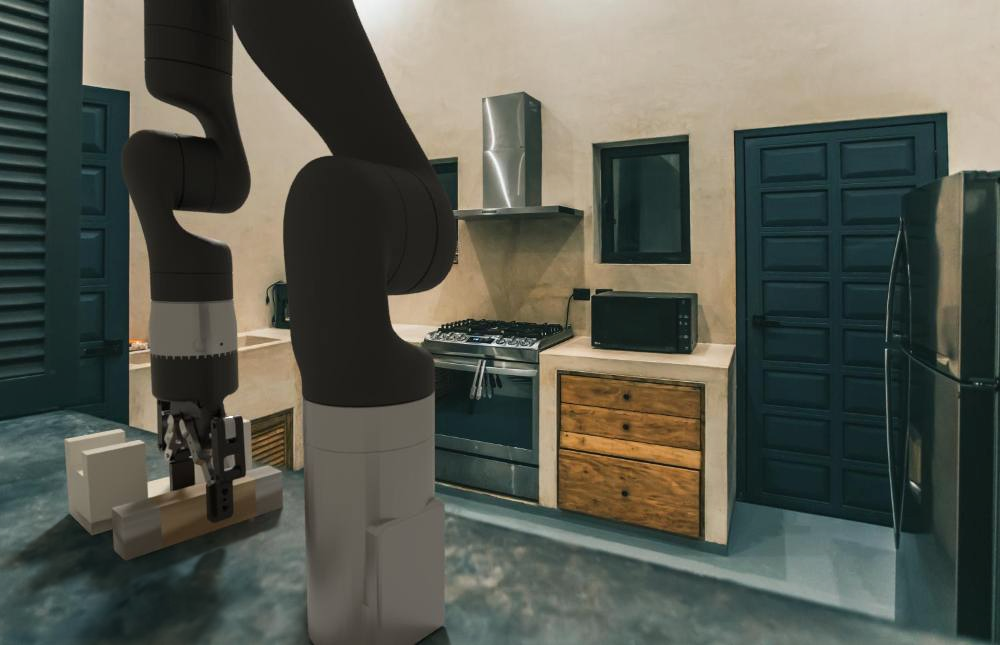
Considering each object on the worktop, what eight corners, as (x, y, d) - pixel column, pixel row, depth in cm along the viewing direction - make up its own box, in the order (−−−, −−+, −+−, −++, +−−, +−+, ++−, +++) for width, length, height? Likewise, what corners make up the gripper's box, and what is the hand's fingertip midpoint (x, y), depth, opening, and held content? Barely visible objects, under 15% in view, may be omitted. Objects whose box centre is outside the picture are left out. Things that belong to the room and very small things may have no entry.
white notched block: (252, 487, 67) (250, 421, 66) (91, 535, 55) (86, 455, 54) (223, 472, 72) (221, 410, 71) (69, 513, 60) (64, 439, 59)
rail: (283, 507, 62) (282, 471, 62) (125, 560, 50) (122, 517, 50) (269, 499, 64) (268, 465, 63) (114, 549, 52) (111, 508, 52)
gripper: (269, 351, 54) (273, 515, 55) (202, 335, 63) (207, 477, 64) (185, 360, 48) (192, 543, 50) (125, 342, 57) (132, 498, 59)
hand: (200, 506), depth 57 cm, fingers open, 8 cm apart
